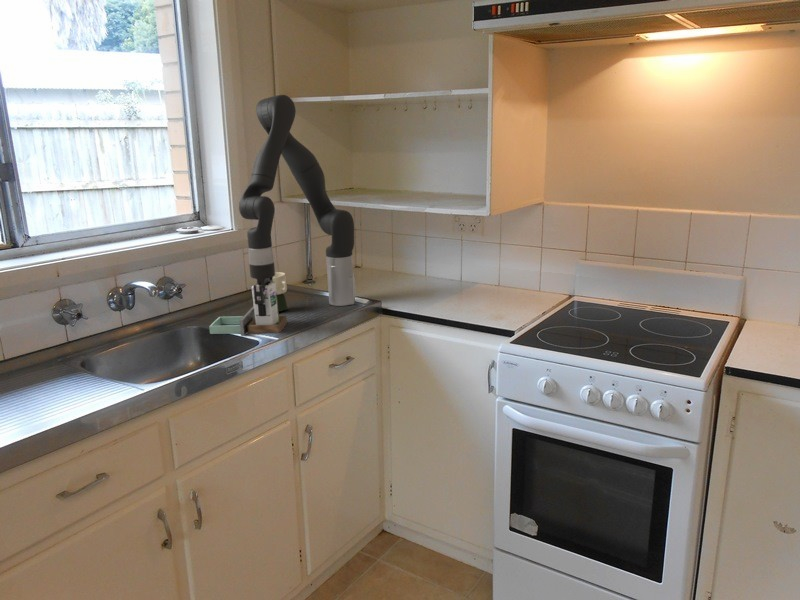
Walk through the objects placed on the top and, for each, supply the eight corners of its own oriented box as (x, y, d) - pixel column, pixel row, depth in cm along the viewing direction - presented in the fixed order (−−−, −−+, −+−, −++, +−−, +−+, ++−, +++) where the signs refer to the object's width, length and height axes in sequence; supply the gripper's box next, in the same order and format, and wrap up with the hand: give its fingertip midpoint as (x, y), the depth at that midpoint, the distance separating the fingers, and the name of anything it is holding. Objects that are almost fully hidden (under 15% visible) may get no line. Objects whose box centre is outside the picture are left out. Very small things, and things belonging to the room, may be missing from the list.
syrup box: (273, 331, 195) (269, 286, 191) (255, 330, 196) (251, 285, 192) (280, 325, 200) (276, 281, 196) (263, 324, 202) (258, 281, 198)
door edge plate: (257, 321, 206) (255, 306, 204) (244, 335, 191) (242, 320, 190) (254, 321, 206) (252, 306, 204) (241, 336, 191) (239, 320, 190)
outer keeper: (250, 323, 203) (249, 316, 203) (241, 333, 194) (241, 325, 193) (220, 324, 204) (219, 316, 203) (210, 333, 194) (209, 326, 194)
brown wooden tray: (287, 322, 203) (286, 315, 202) (280, 332, 193) (279, 325, 193) (256, 323, 203) (255, 315, 203) (248, 333, 194) (247, 325, 193)
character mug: (296, 311, 215) (293, 274, 212) (280, 316, 210) (277, 278, 207) (276, 306, 222) (273, 270, 219) (260, 311, 217) (256, 274, 213)
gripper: (267, 266, 185) (272, 318, 190) (278, 256, 199) (283, 305, 203) (242, 266, 186) (248, 319, 190) (255, 257, 200) (260, 306, 204)
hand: (266, 312), depth 197 cm, fingers open, 8 cm apart
